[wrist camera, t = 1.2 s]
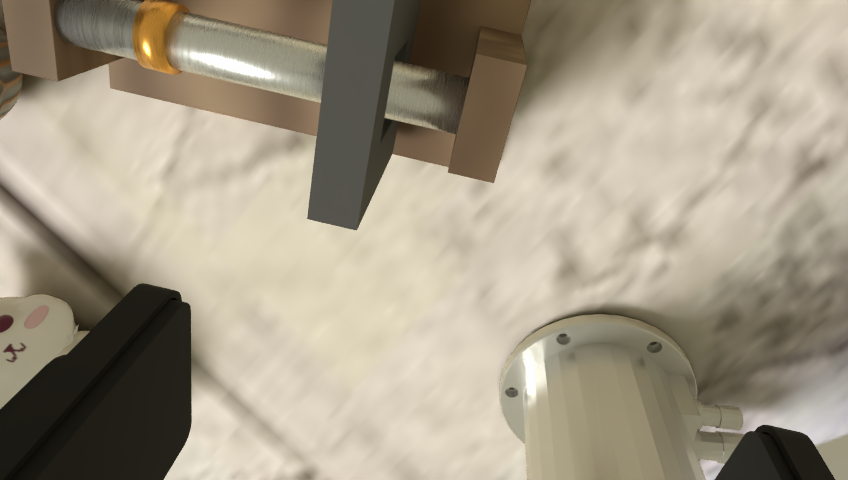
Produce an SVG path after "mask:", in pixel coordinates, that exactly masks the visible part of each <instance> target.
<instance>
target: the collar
mask: <svg viewBox="0 0 848 480" xmlns="http://www.w3.org/2000/svg"><path fill="white" fill-rule="evenodd" d="M420 4H421V0H333V1H332V9H331V18H330V27H329V35H328V44H327V53H326V61H325V70H324V79H323V87H322V96H321V105H320V113H319V122H318V131H317V139H316V148H315V157H314V165H313V174H312V183H311V191H310V200H309V209H308V217H307V219H310V220H314V221H318V222H323V223H327V224H331V225H336V226H340V227H344V228H348V229H353V230H357V229H358V227H359V224H360V222H361V220H362V218H363V216H364V214H365V211H366V209H367V207H368V205H369V203H370V201H371V198H372V196H373V194H374V192H375V190H376V188H377V186H378V183H379V181H380V179H381V177H382V175H383V173H384V170H385V168H386V166H387V164H388V162H389V160H390V158H391V155H392V153H393V149H394V144H395V139H396V133H397V128H398V123H399V121H396V120H392V119H388V118H384V117H385V112H386V106H387V100H388V94H389V89H390V83H391V77H392V71H393V65H394V60H395V61H399V62H404V63H408V64H409V63H410V58H411V53H412V47H413V42H414V36H415V31H416V26H417V20H418V15H419V9H420Z"/></svg>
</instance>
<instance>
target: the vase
mask: <svg viewBox="0 0 848 480" xmlns="http://www.w3.org/2000/svg"><path fill="white" fill-rule="evenodd" d="M22 82H23V73H19V72H15V71H12V67H11V60H10V53H9V46H8V40H7V36H6V35H5V34H4V33H3V31H2V30H1V29H0V120H1V119H2V118H3V117H4V116H5V115H6V114H7V113H8V112H9V111H10V110H11V109H12V107H13V106H14V105H15V103H16V101H17V100H18V98H19V96H20V93H21V89H22Z"/></svg>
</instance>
